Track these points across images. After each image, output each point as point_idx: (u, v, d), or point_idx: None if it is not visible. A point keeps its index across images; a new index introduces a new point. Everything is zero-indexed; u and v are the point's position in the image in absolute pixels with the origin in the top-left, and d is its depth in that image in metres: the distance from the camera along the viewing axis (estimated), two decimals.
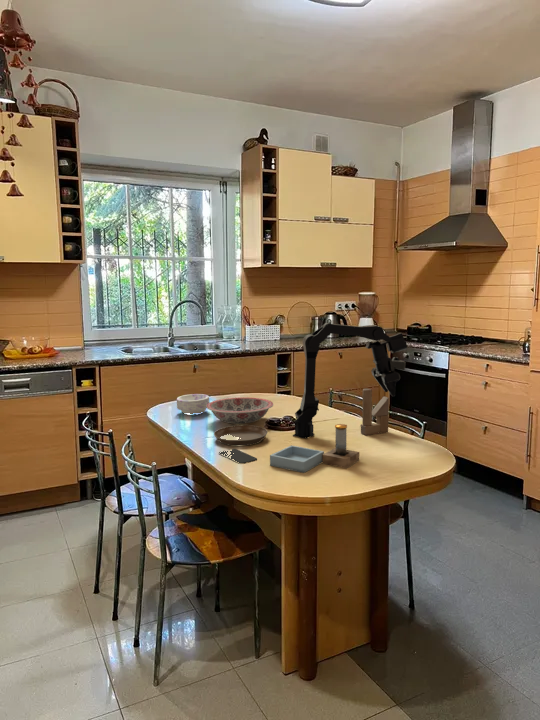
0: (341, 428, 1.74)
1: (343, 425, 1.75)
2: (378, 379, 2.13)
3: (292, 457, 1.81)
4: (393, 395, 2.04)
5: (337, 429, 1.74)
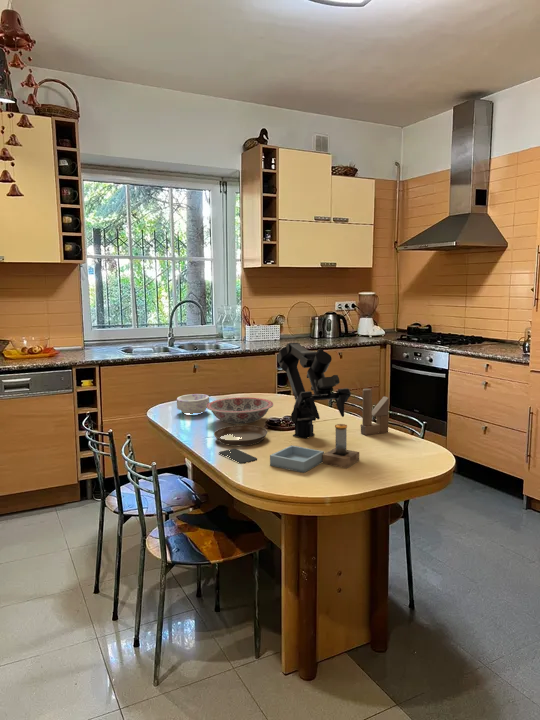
0: (341, 428, 1.74)
1: (343, 425, 1.75)
2: (337, 405, 1.89)
3: (292, 457, 1.81)
4: (317, 417, 1.81)
5: (337, 429, 1.74)
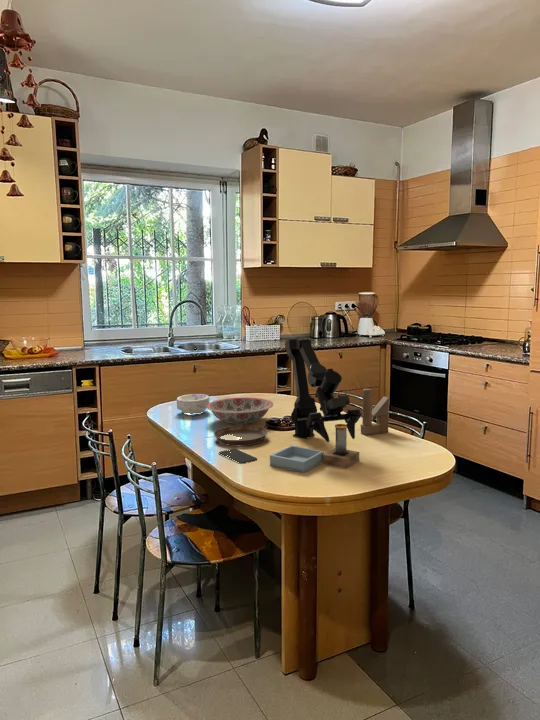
0: (341, 428, 1.74)
1: (343, 425, 1.75)
2: (347, 426, 1.82)
3: (292, 457, 1.81)
4: (327, 440, 1.75)
5: (337, 429, 1.74)
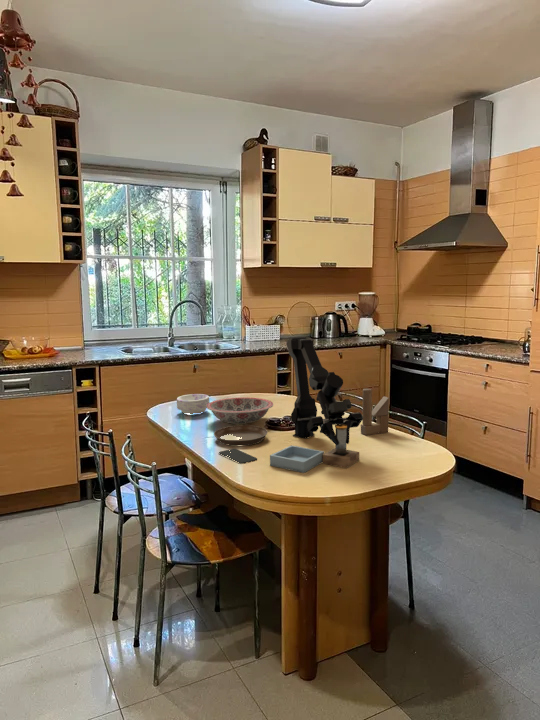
0: (341, 428, 1.74)
1: (343, 425, 1.75)
2: None
3: (292, 457, 1.81)
4: (335, 443, 1.75)
5: (337, 429, 1.74)
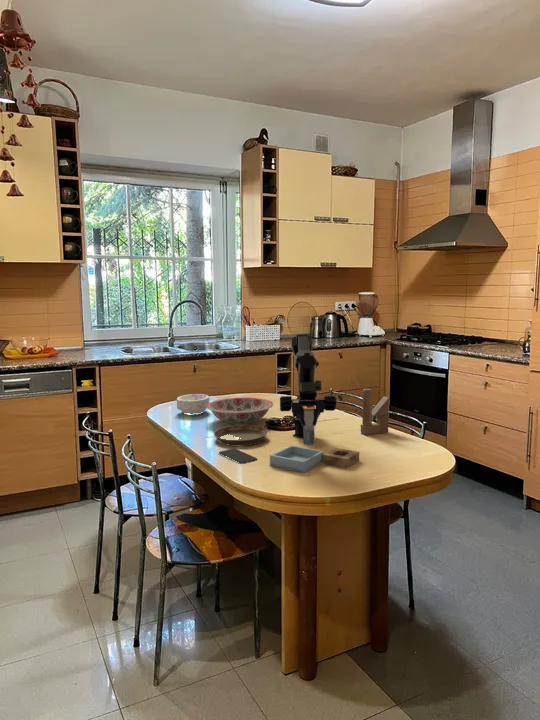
0: (307, 409, 1.72)
1: (311, 406, 1.73)
2: None
3: (292, 457, 1.81)
4: (301, 424, 1.73)
5: (304, 410, 1.73)
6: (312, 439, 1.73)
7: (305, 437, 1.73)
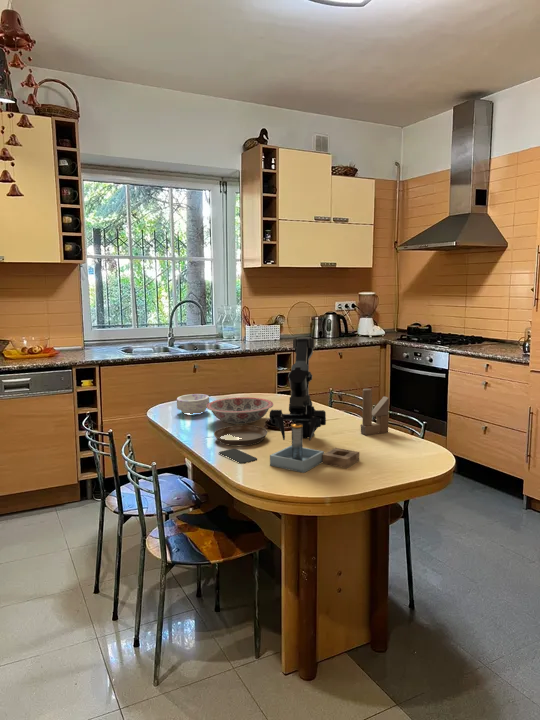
0: (294, 427, 1.73)
1: (299, 424, 1.74)
2: None
3: None
4: None
5: None
6: (300, 457, 1.75)
7: (293, 455, 1.75)
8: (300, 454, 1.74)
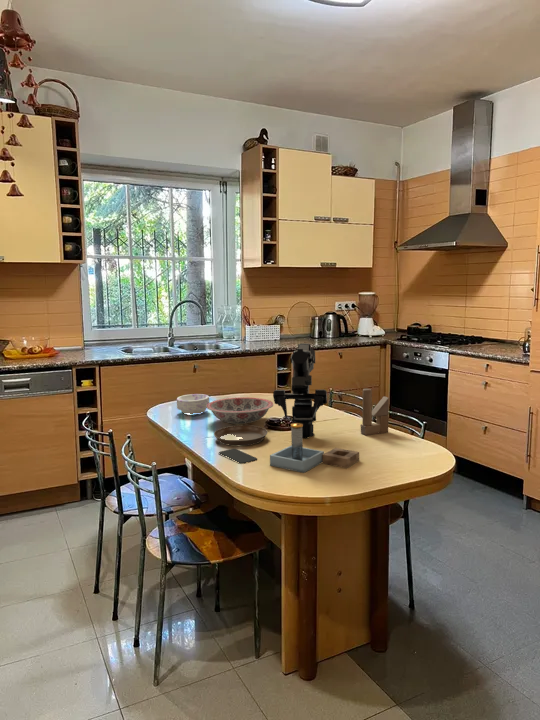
0: (294, 427, 1.73)
1: (299, 424, 1.74)
2: None
3: None
4: (285, 416, 1.84)
5: (291, 427, 1.74)
6: (300, 457, 1.75)
7: (293, 455, 1.75)
8: (300, 454, 1.75)
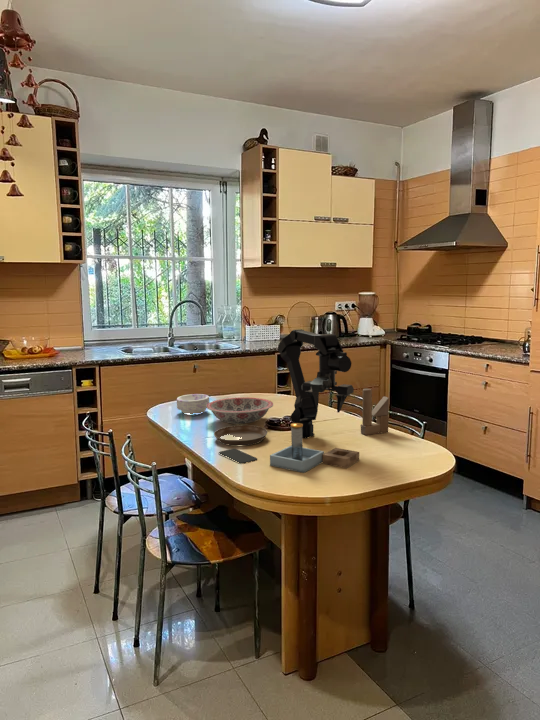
0: (294, 427, 1.73)
1: (299, 424, 1.74)
2: None
3: None
4: None
5: (291, 427, 1.74)
6: (299, 457, 1.75)
7: (293, 455, 1.75)
8: (300, 454, 1.75)
